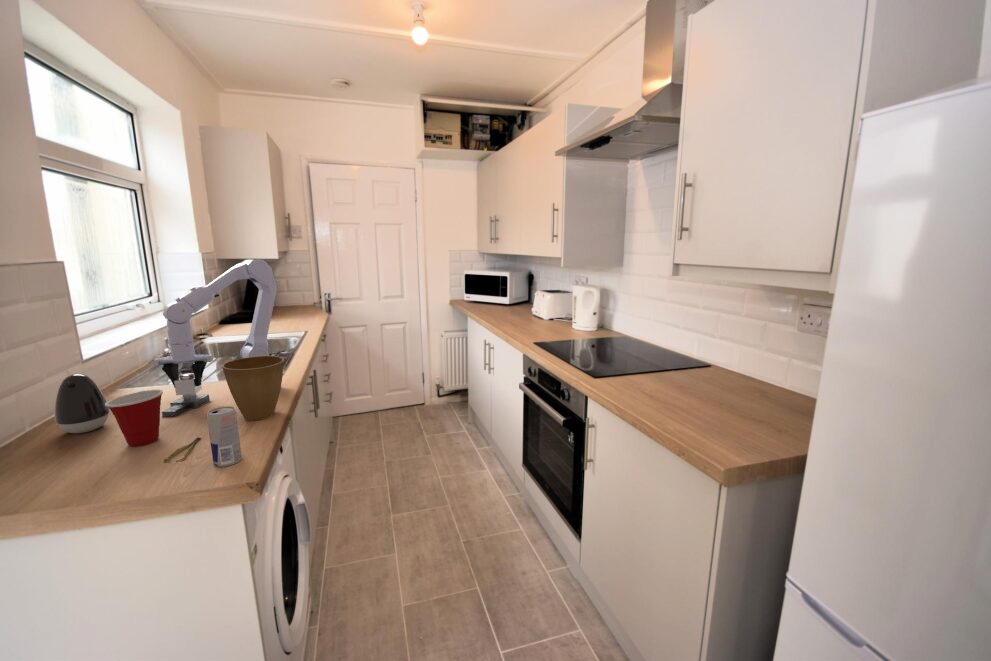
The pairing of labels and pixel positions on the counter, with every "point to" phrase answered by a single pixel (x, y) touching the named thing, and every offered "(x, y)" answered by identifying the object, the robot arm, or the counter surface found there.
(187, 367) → the salt shaker
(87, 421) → the grey egg-shaped dome
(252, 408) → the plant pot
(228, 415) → the energy drink
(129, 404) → the plastic cup
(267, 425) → the counter surface
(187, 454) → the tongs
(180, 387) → the cube with round knob
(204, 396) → the dark grey piece
